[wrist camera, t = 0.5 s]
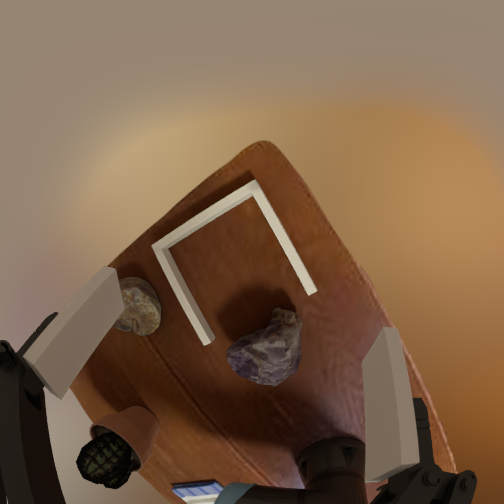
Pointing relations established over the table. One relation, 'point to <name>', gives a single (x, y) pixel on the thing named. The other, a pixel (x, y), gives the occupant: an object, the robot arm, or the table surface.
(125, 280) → the oyster shell
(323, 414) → the table surface
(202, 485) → the dish towel
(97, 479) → the potted plant
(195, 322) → the bay
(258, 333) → the rock
